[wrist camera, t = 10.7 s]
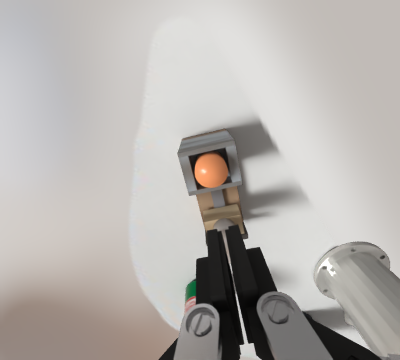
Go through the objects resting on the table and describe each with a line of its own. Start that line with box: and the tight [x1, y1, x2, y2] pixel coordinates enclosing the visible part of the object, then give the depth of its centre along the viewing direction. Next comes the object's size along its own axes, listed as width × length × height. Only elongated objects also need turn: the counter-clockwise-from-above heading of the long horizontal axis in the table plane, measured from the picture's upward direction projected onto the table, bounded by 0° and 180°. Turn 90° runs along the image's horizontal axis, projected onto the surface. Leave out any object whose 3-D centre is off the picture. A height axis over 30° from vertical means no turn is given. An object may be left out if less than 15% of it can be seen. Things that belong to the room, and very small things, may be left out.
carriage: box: [203, 204, 244, 264], centre depth 28 cm, size 3×5×8 cm, turn 103°
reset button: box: [195, 150, 228, 188], centre depth 23 cm, size 3×3×3 cm
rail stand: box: [177, 129, 248, 246], centre depth 28 cm, size 15×6×8 cm, turn 13°
